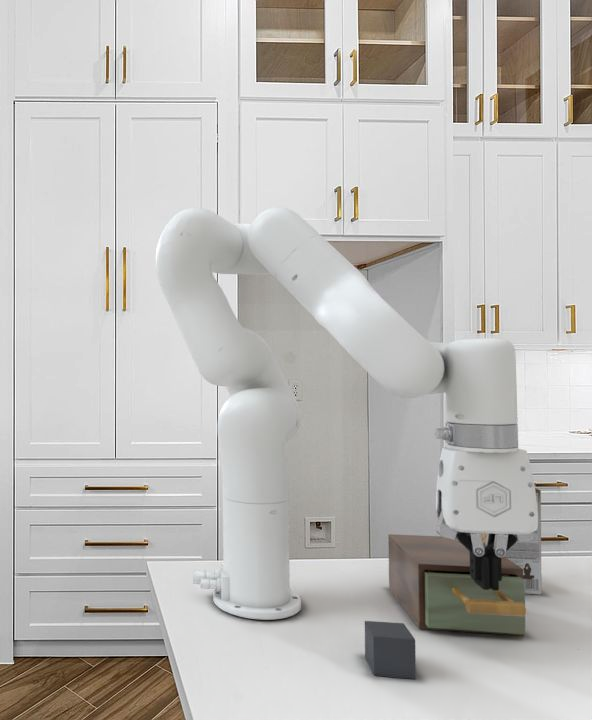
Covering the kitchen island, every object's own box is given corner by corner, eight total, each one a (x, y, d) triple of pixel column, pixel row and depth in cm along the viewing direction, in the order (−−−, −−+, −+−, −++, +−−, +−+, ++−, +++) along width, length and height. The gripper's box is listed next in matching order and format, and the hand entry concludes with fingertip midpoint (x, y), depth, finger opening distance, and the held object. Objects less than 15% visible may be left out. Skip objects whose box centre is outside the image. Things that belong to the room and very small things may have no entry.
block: (374, 676, 67) (373, 636, 67) (364, 657, 72) (364, 620, 72) (416, 679, 67) (415, 639, 67) (404, 660, 71) (403, 623, 71)
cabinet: (524, 636, 77) (523, 568, 77) (419, 629, 79) (418, 563, 80) (477, 594, 91) (476, 537, 92) (389, 589, 94) (388, 534, 94)
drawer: (553, 658, 69) (551, 599, 70) (446, 650, 71) (445, 592, 72) (480, 594, 89) (479, 548, 89) (398, 590, 91) (397, 545, 91)
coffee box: (474, 573, 101) (473, 477, 101) (517, 575, 100) (515, 478, 100) (498, 592, 92) (496, 487, 92) (545, 595, 91) (543, 489, 91)
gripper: (427, 440, 72) (431, 594, 72) (566, 441, 70) (571, 600, 69) (408, 434, 80) (411, 573, 79) (532, 434, 77) (537, 578, 77)
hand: (486, 585), depth 74 cm, fingers closed
